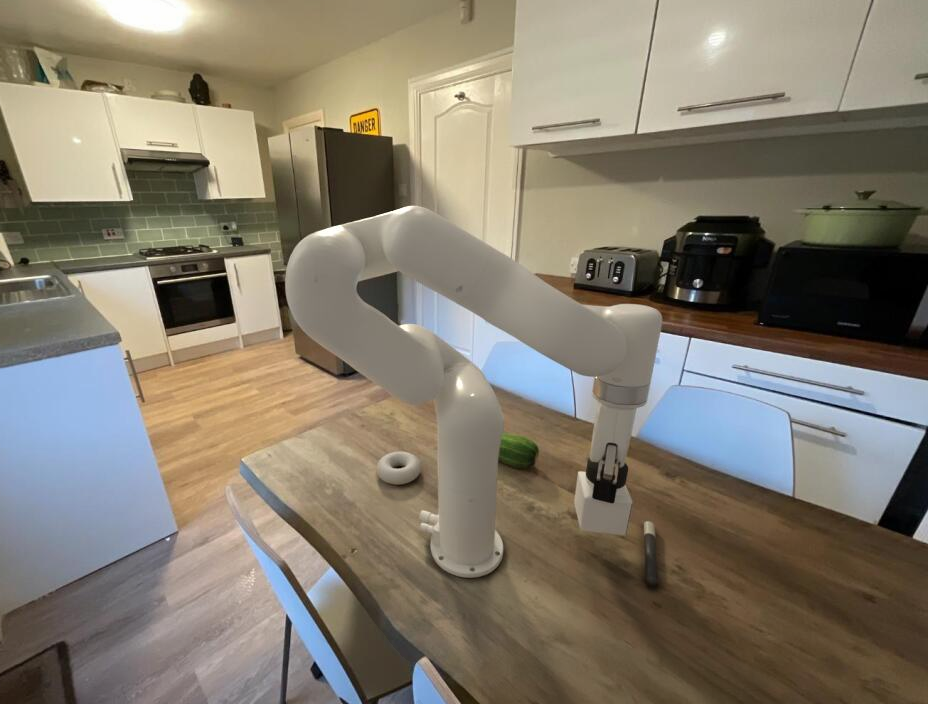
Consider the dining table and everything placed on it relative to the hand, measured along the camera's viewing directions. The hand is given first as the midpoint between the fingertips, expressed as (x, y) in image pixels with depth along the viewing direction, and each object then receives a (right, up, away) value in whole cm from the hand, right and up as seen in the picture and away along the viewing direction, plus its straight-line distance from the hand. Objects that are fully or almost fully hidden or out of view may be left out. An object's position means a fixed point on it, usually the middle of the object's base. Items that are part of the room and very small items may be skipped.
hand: (604, 484), depth 67 cm
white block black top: (0, -7, +3) cm, 8 cm away
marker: (+8, -12, +1) cm, 14 cm away
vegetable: (-12, -2, +29) cm, 32 cm away
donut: (-35, -5, +24) cm, 43 cm away
